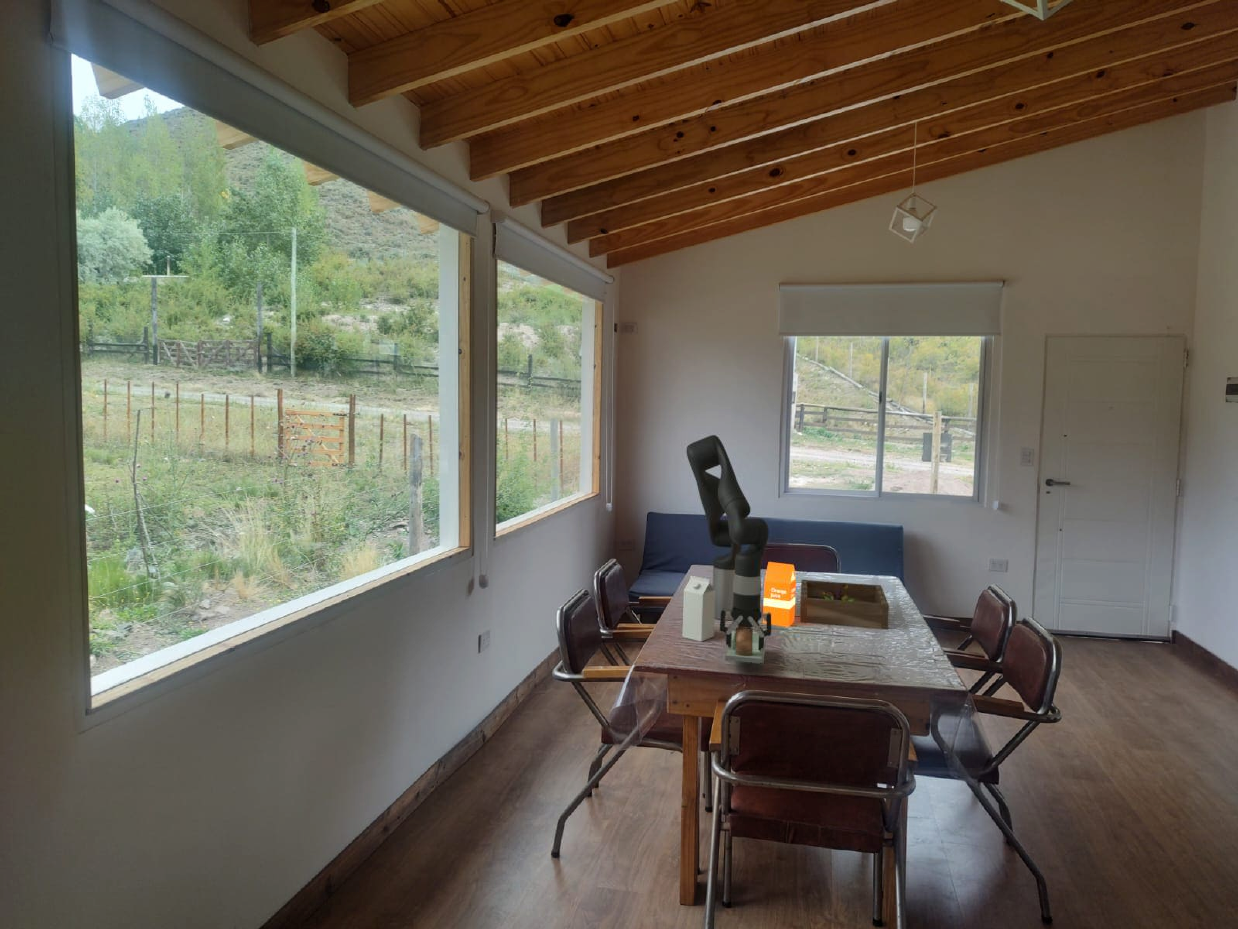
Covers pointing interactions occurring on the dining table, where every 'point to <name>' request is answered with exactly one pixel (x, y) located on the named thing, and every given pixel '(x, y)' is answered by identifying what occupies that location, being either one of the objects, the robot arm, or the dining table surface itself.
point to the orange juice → (780, 593)
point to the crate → (755, 643)
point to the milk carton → (698, 609)
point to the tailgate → (744, 657)
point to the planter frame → (844, 605)
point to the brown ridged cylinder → (744, 640)
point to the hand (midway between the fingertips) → (744, 648)
